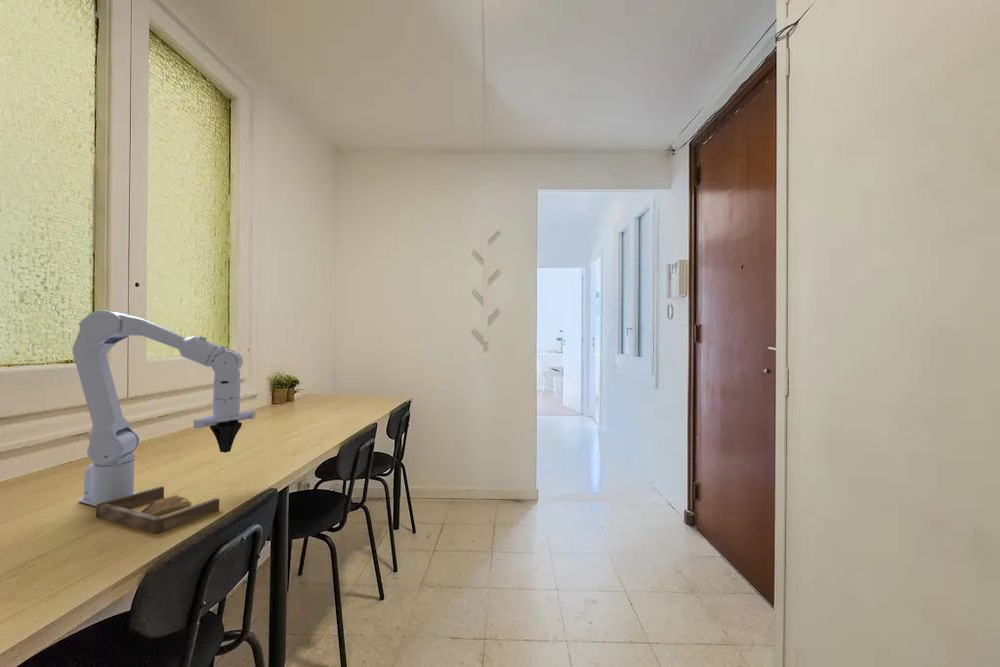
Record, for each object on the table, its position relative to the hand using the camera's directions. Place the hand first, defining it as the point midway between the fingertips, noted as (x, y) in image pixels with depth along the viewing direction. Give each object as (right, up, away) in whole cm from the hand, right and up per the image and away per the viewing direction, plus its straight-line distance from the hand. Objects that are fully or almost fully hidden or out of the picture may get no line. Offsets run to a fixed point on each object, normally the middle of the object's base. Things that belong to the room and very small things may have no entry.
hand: (225, 451), depth 106 cm
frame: (-4, -9, -15) cm, 18 cm away
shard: (-4, -10, -13) cm, 17 cm away
